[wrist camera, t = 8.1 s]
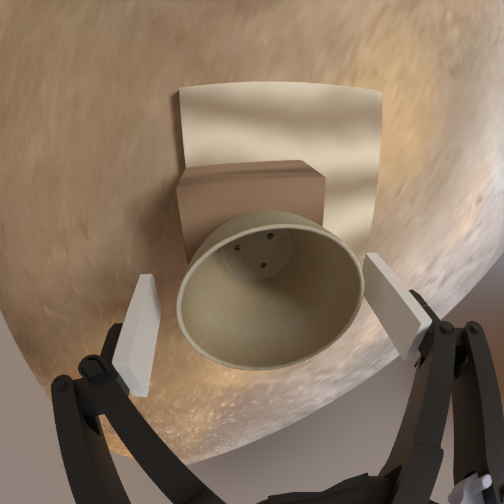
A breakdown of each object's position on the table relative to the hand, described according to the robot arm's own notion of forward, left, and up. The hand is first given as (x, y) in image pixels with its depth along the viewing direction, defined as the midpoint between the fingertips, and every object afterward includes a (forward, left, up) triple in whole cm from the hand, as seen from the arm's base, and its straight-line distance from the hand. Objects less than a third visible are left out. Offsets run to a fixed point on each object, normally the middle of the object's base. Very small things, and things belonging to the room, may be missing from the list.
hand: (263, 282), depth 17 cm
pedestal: (0, 0, -10) cm, 10 cm away
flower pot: (0, 0, -4) cm, 4 cm away
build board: (-3, +4, -11) cm, 12 cm away
